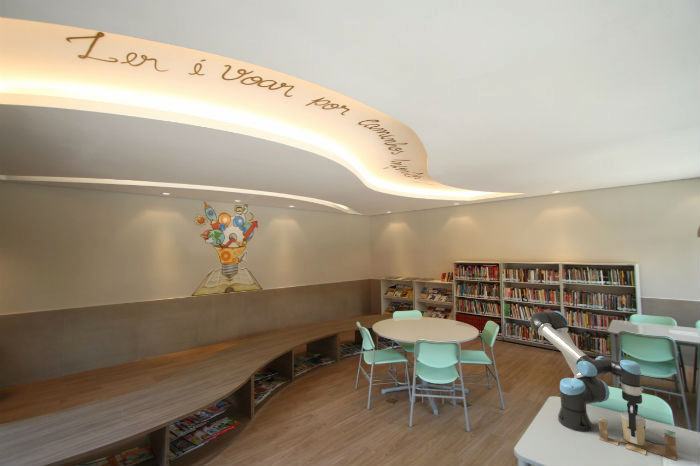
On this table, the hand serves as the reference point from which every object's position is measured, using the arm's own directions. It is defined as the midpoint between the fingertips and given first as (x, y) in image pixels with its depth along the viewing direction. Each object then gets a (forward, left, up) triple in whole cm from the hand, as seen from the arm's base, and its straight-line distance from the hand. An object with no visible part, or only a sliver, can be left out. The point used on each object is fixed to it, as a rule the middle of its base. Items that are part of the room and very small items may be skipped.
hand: (634, 438), depth 152 cm
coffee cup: (0, 0, -1) cm, 1 cm away
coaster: (+5, +12, -2) cm, 14 cm away
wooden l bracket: (+5, 0, -2) cm, 5 cm away
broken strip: (-3, -7, -2) cm, 8 cm away
